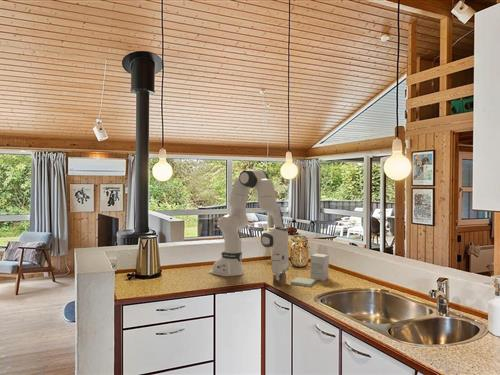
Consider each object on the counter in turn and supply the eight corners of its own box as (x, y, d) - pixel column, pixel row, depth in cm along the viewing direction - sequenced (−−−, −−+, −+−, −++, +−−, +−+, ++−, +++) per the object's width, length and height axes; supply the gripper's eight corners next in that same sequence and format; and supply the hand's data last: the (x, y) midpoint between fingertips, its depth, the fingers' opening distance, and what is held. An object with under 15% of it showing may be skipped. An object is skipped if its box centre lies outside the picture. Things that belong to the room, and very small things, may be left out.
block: (273, 284, 233) (273, 274, 233) (276, 282, 238) (276, 272, 238) (282, 286, 230) (282, 275, 230) (285, 283, 236) (286, 273, 236)
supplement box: (315, 276, 255) (315, 253, 255) (328, 278, 251) (329, 254, 250) (309, 279, 248) (310, 255, 247) (323, 281, 243) (324, 257, 243)
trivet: (290, 284, 235) (290, 281, 235) (296, 279, 246) (296, 277, 246) (310, 286, 230) (310, 284, 230) (315, 281, 241) (315, 279, 241)
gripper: (281, 251, 245) (281, 273, 245) (269, 257, 226) (269, 281, 226) (291, 252, 242) (291, 274, 243) (280, 258, 224) (280, 282, 224)
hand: (280, 278), depth 234 cm, fingers open, 8 cm apart
